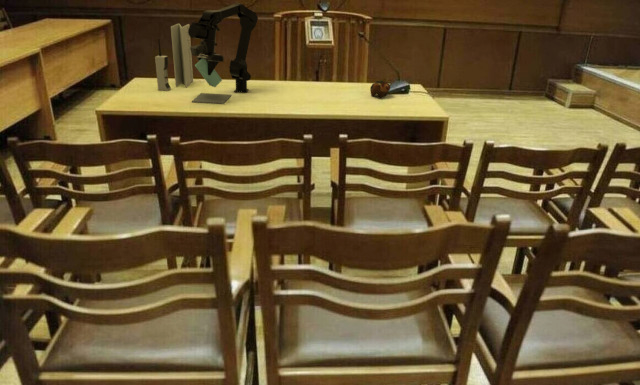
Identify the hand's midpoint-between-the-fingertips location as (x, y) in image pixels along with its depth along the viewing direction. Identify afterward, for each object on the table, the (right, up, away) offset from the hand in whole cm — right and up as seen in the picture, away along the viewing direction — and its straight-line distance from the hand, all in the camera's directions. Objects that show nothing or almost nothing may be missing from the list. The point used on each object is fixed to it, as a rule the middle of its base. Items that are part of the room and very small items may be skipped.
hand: (206, 74), depth 235 cm
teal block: (+4, -3, +5) cm, 7 cm away
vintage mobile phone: (-25, -4, +18) cm, 31 cm away
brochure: (-18, +1, +30) cm, 35 cm away
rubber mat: (+2, -11, +5) cm, 12 cm away
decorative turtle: (+84, -6, +24) cm, 88 cm away
